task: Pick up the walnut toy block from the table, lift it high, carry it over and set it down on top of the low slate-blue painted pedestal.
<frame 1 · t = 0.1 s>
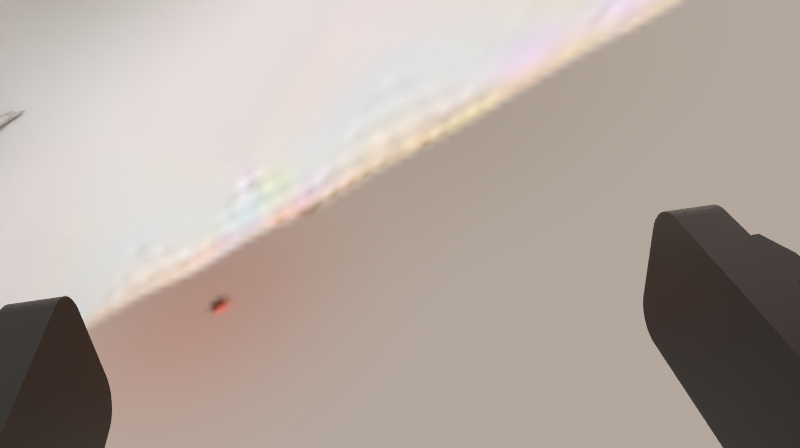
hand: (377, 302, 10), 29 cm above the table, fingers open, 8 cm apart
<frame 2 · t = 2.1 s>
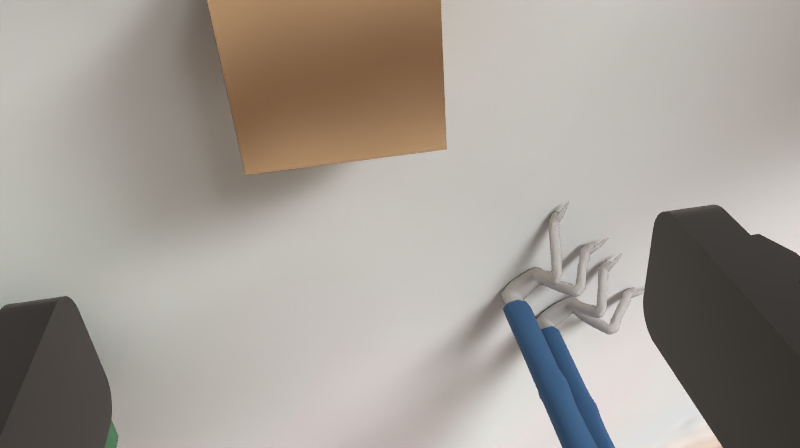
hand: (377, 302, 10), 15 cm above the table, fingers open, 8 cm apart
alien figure: (557, 277, 30), on the table
walnut block: (324, 4, 22), on the table
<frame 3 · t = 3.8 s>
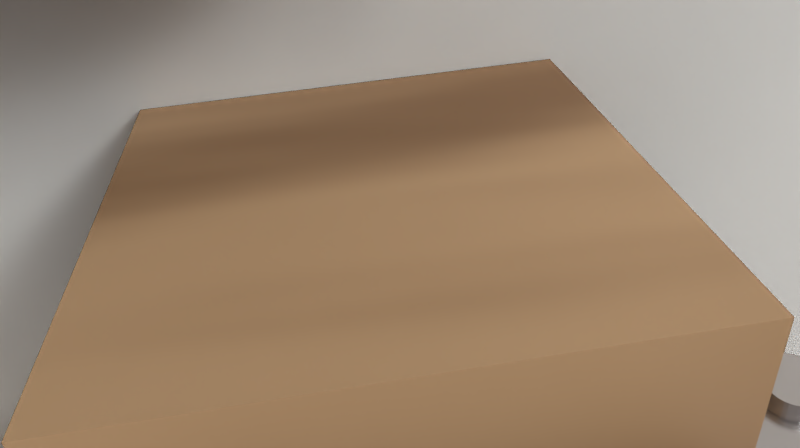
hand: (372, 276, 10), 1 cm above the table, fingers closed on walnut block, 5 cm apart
walnut block: (369, 251, 11), on the table, touching gripper
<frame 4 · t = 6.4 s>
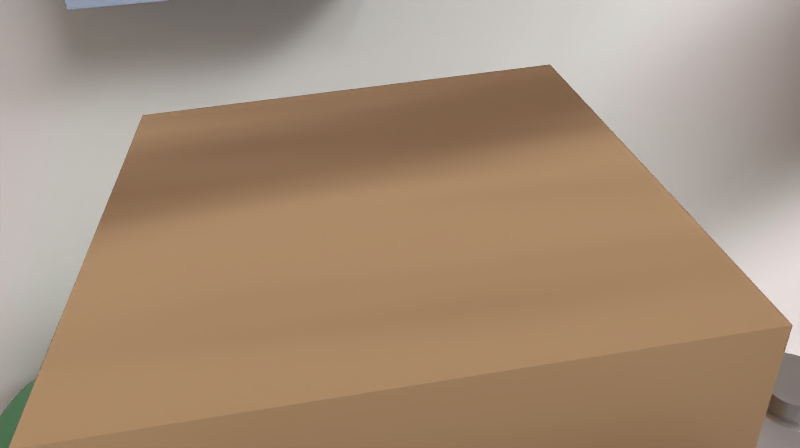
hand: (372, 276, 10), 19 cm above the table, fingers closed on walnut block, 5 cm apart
alien toy: (105, 383, 35), on the table
walnut block: (370, 255, 11), point 18 cm above the table, touching gripper
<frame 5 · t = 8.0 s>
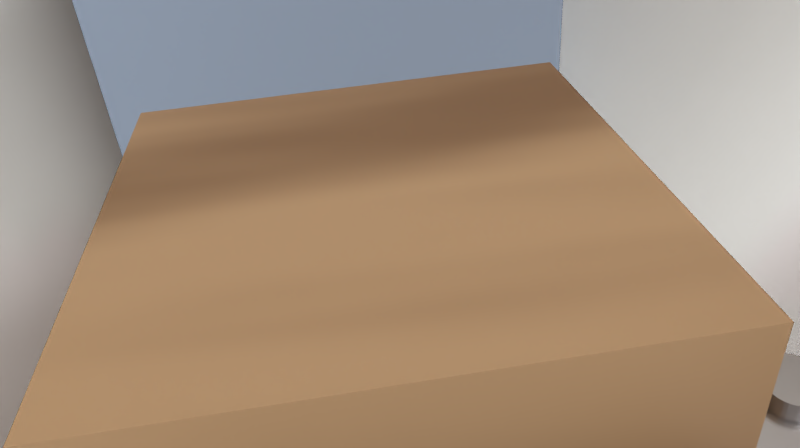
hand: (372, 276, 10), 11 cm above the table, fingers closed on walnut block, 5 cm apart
pedestal: (329, 31, 20), on the table
walnut block: (369, 254, 11), point 11 cm above the table, touching gripper
when the fingers open (7 cm above the table, at t = 9.2 s): walnut block drops 1 cm, resting on pedestal.
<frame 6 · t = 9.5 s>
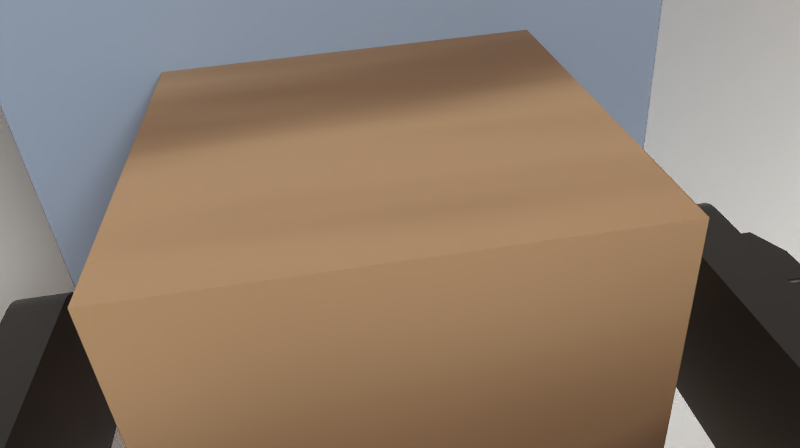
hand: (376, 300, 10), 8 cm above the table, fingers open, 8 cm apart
pedestal: (339, 97, 16), on the table
walnut block: (365, 206, 12), point 5 cm above the table, touching pedestal
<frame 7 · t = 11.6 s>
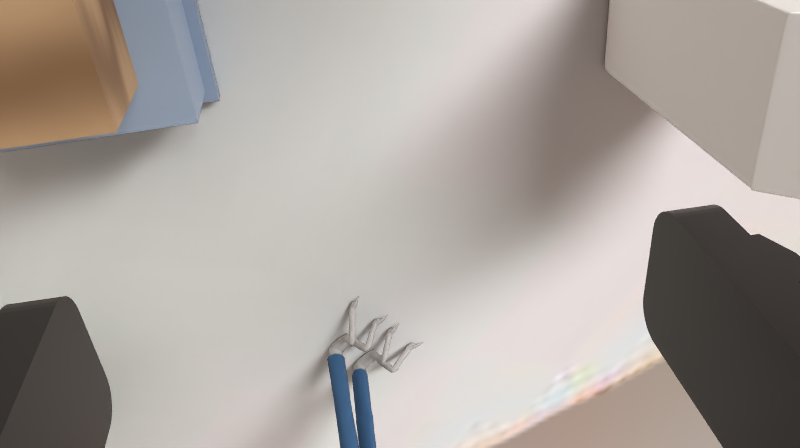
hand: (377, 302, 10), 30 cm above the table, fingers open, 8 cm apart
milk carton: (666, 0, 40), on the table
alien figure: (364, 338, 49), on the table
pedestal: (80, 5, 35), on the table
walnut block: (56, 33, 31), point 5 cm above the table, touching pedestal
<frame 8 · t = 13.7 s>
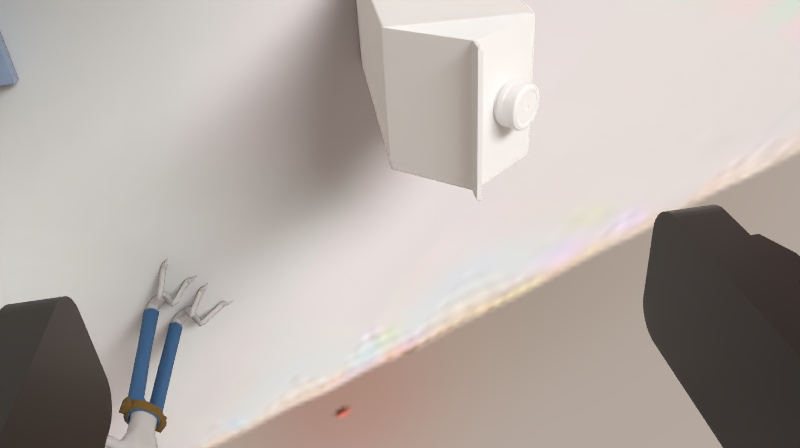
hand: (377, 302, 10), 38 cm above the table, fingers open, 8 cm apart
milk carton: (410, 6, 46), on the table
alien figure: (180, 295, 56), on the table
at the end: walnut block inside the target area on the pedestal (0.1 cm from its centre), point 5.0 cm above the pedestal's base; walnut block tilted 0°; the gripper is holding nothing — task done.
